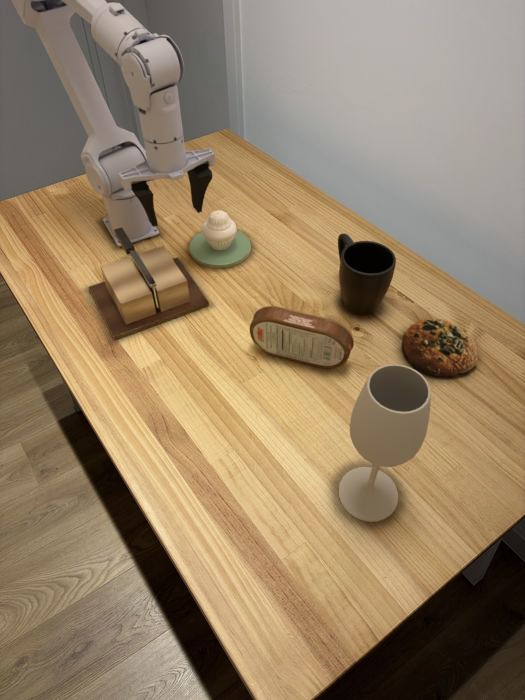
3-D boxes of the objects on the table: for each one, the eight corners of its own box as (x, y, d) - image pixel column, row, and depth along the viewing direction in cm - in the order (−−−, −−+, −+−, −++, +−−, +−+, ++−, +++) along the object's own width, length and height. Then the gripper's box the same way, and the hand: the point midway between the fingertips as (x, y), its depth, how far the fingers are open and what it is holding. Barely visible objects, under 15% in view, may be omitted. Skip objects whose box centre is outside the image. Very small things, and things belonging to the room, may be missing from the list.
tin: (350, 362, 81) (357, 321, 75) (345, 377, 79) (352, 337, 73) (254, 338, 85) (253, 297, 79) (247, 352, 83) (246, 312, 77)
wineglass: (331, 468, 70) (350, 360, 54) (391, 464, 70) (427, 354, 54) (342, 526, 65) (367, 424, 49) (406, 520, 65) (451, 418, 49)
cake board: (89, 290, 92) (81, 265, 88) (178, 260, 97) (174, 236, 93) (114, 340, 85) (106, 315, 81) (209, 305, 90) (206, 280, 86)
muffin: (243, 240, 100) (242, 206, 95) (228, 259, 96) (225, 226, 91) (213, 231, 102) (210, 198, 96) (196, 250, 98) (193, 217, 93)
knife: (119, 252, 96) (113, 227, 92) (127, 249, 97) (121, 225, 93) (153, 310, 86) (148, 285, 83) (162, 307, 87) (157, 282, 83)
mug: (359, 268, 96) (366, 222, 89) (395, 313, 88) (406, 266, 81) (316, 280, 94) (320, 233, 87) (350, 327, 86) (357, 280, 79)
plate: (180, 241, 101) (179, 237, 100) (234, 224, 104) (233, 220, 104) (205, 276, 94) (204, 272, 94) (261, 256, 98) (261, 252, 97)
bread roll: (393, 366, 80) (401, 340, 77) (406, 323, 88) (415, 298, 85) (470, 390, 78) (482, 364, 75) (477, 344, 86) (488, 319, 83)
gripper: (123, 159, 74) (141, 242, 84) (221, 133, 78) (227, 215, 88) (107, 137, 78) (126, 219, 88) (200, 114, 82) (208, 194, 92)
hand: (175, 216), depth 88 cm, fingers open, 7 cm apart
